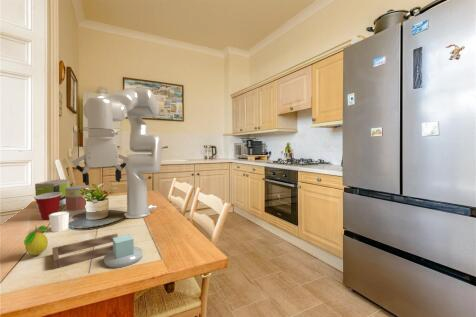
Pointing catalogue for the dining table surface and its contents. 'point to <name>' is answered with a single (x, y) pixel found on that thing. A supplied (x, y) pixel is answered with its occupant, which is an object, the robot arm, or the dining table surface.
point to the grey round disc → (122, 259)
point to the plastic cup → (48, 203)
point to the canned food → (74, 198)
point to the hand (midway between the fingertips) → (103, 182)
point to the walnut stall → (84, 255)
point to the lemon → (36, 241)
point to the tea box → (53, 188)
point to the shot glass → (59, 221)
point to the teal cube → (123, 246)
